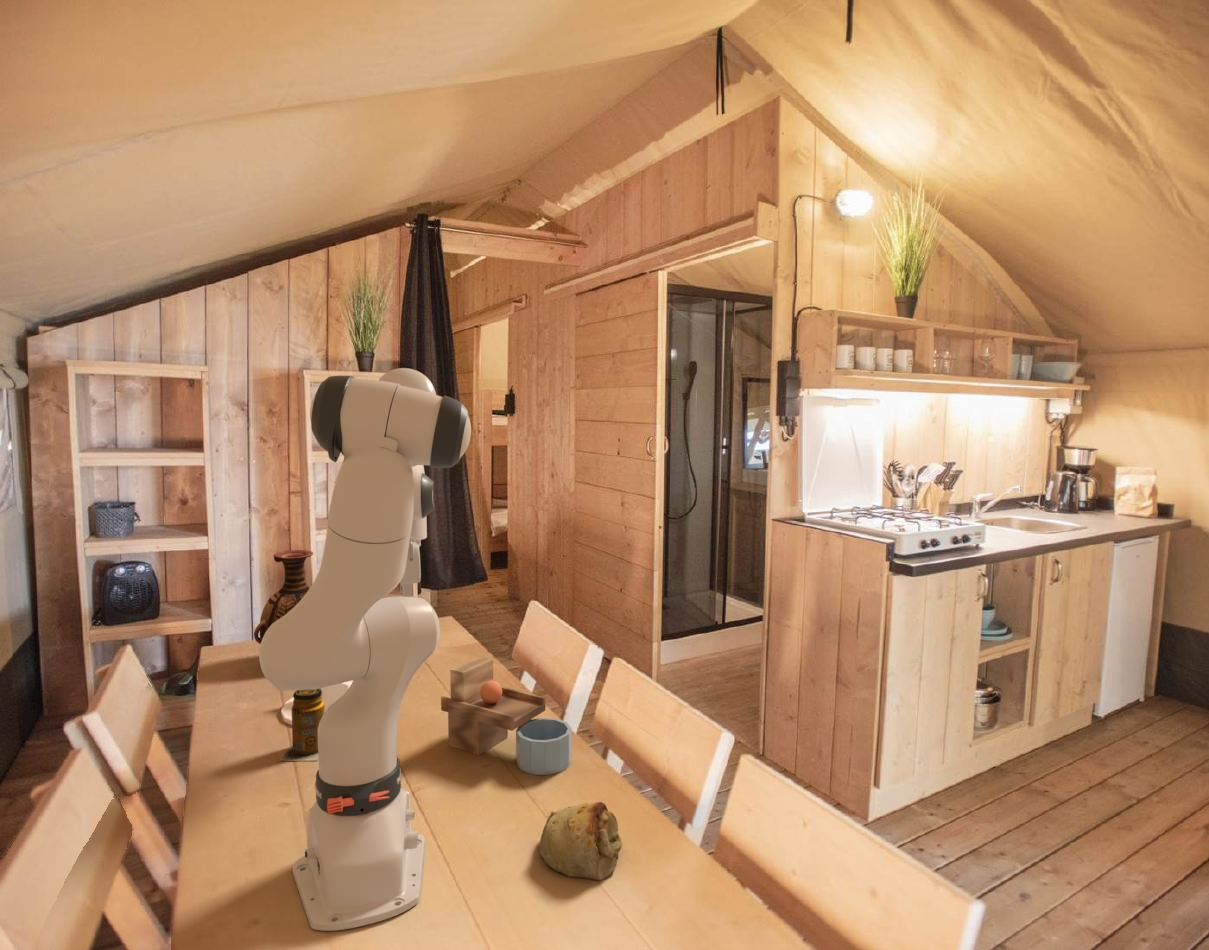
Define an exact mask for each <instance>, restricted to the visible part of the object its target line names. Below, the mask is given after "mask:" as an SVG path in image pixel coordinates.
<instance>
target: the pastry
mask: <svg viewBox="0 0 1209 950" xmlns="http://www.w3.org/2000/svg"><path fill="white" fill-rule="evenodd" d="M618 831H619V824H618V820H617V817H616V816H615V814H614V813H613V812H611V811H609V810H608V808H607V805H606V804H605V803H604V802H602V801H596V802H592V803H582V804H578V805H572V806H564V807H562V808H561V807H560V808H559V809H558V810H556V811H551V813H550V814H549V816H548V818H547V820H546V822H545V825H544V827H543V830H542V833H541V836H540V841H539V849H538V850H539V851H538V852H539V856H540V857H541V859H543V860H544V862H545V863H546V864H547V866H549V867H550V868H552V869H553V870H554V871H556V872H558V873H561V874H564V875H565V877H569V878H572V879H575V878H577V879H582V880H583V879H585V880H591V881H599V882H601V881H602V880H606V879H607V878H610V877H611V875H612V873H614V871H615V869H616V867H617V863H618V861H617V860H618V859H619V852H620V851H621V849H622V847H623V842H622V838H621V836H620V834H619V832H618Z"/></svg>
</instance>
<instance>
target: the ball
mask: <svg viewBox="0 0 1209 950" xmlns="http://www.w3.org/2000/svg"><path fill="white" fill-rule="evenodd" d="M502 687H503V686H502ZM502 687H501V684H500V683H499V682H497V681H495V680H493V681H488V682H486V683H484V684H483V686H482V687H481V690H480V695H481V698H482V699H483V701H485V702H486V703H490V704H492V703H495V702H497V701H498V700H499V699H500V698H501V696H502Z"/></svg>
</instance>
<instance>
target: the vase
mask: <svg viewBox="0 0 1209 950" xmlns="http://www.w3.org/2000/svg"><path fill="white" fill-rule="evenodd" d="M313 555H314V552H313V551H311V550H304V549H293V550H284V551H278V552H277V553H274V554H273V559H274V561H275V562H276V563H280V562H281V563H282V565H283V568H284V582H283V585H282V587H281V588H280V589H279V590H277V591H276V592H275V593H274V594H272V595H271V596H270V597H269V598H268V600H267V601H266V603H265V605H264V607H263V609H262V611H261V615H260V621H259V623H257V626H256V628H255V629H254V632H253V637H254V640H255V642H256V643H257V644H259V645H261V641H262V639H263V637H264V635H265V633H266V631H267V630H268V628H269V627H270V626H271V625H272V624H273V623H274V622H275V621H277V620H279V619H280V618H282V617H283V616H284V615H285V614H287V613H288V612H289V611H290V610H291V609H293V608H294V607H295V606H296V605H297V604H298V603H299V602H300V600H301V599H302V598H303V597H304V596H305V594H306V593H307V592H308V590H309V589H310V587H309V585H308V584H307V582H306V578H305V572H304V571H305V570H304V566H305V561H306V560H307V558H310V557H312V556H313Z"/></svg>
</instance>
